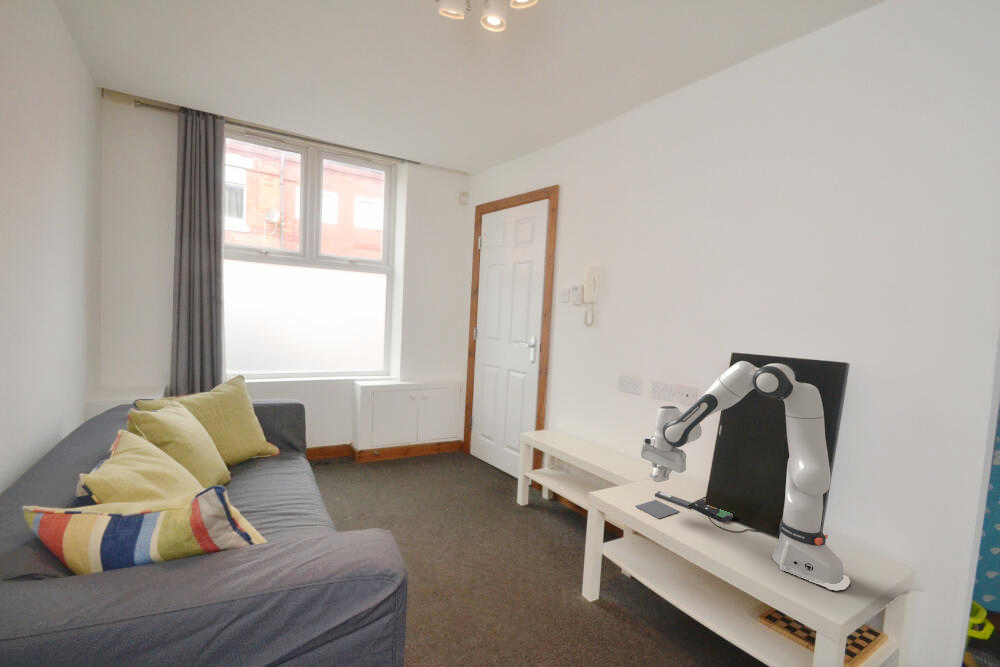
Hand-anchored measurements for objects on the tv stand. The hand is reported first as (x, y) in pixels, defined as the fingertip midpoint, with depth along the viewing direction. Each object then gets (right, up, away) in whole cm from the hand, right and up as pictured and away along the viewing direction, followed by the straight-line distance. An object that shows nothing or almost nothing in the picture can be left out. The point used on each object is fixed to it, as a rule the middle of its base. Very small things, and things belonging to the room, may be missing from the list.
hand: (661, 475), depth 195 cm
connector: (-1, -2, 0) cm, 2 cm away
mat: (-1, -15, +1) cm, 15 cm away
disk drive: (+23, -18, +2) cm, 29 cm away
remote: (+9, -16, +11) cm, 21 cm away
